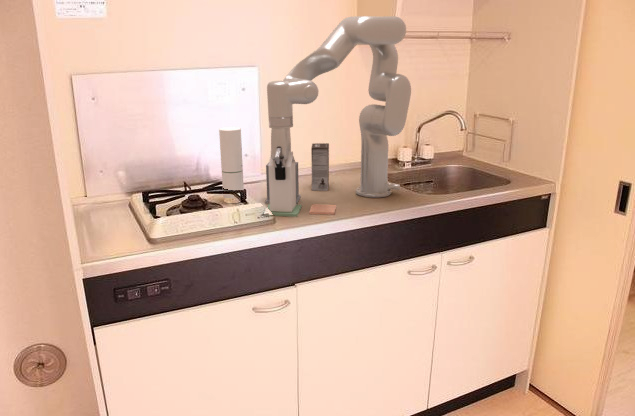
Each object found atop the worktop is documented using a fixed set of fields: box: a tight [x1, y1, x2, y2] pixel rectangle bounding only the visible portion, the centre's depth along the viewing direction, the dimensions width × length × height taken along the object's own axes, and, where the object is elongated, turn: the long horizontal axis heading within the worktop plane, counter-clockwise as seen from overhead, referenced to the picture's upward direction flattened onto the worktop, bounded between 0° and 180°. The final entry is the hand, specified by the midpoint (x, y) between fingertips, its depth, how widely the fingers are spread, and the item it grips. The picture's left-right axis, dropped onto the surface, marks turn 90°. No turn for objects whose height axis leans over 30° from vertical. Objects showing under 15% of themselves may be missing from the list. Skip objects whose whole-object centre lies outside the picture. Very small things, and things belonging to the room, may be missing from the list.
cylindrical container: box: [218, 126, 245, 198], centre depth 182 cm, size 7×7×25 cm
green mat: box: [266, 203, 303, 218], centre depth 174 cm, size 11×10×1 cm
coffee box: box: [311, 142, 330, 192], centre depth 199 cm, size 9×6×16 cm
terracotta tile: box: [308, 203, 337, 216], centre depth 174 cm, size 8×8×1 cm
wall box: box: [265, 161, 302, 205], centre depth 183 cm, size 11×8×13 cm
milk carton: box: [268, 151, 297, 212], centre depth 171 cm, size 7×7×19 cm
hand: (283, 175), depth 171 cm, fingers open, 9 cm apart
